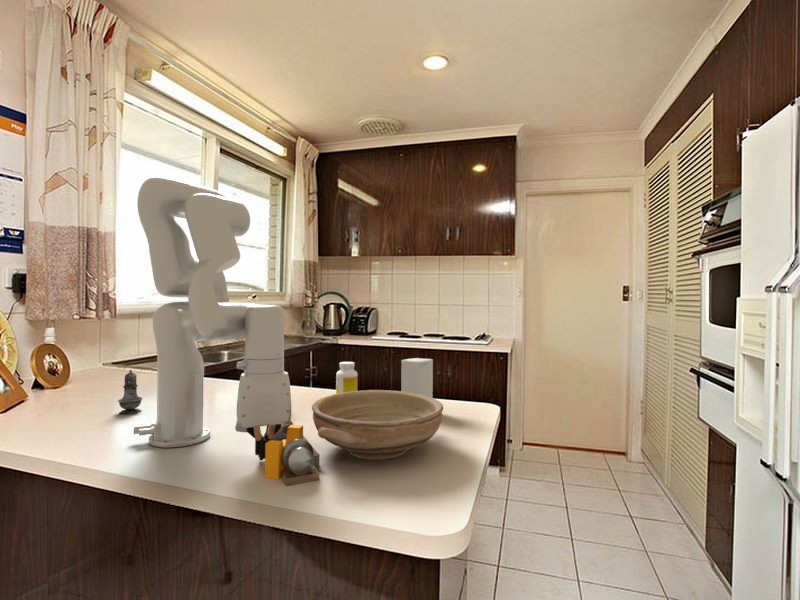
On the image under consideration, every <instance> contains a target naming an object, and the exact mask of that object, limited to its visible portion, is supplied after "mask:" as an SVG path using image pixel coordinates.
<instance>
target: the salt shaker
mask: <svg viewBox="0 0 800 600" xmlns="http://www.w3.org/2000/svg"><path fill="white" fill-rule="evenodd" d="M138 386H139V385H138V384H137V374H136V373H135V372H133V370H132V369H130V370H129V372H128V373H126V374H125V375H124V385H123V386H122V388H123V396H122V398H120V399H118V400H117V402H118V405H119V407H120V408H121V409H122V410H121V411H119V414H118V415H122V416H125V415H135V414H138V413H141V412H142V410H141V409H140V408H138V407H139V406H140V405H141V403H142V400H143V397H142V396H138V393H137V392H138V391H137V389H138Z"/></svg>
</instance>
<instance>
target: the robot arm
mask: <svg viewBox="0 0 800 600" xmlns="http://www.w3.org/2000/svg"><path fill="white" fill-rule="evenodd" d="M136 206H137V214H138V216H139V220H140V223H141V226H142V229H143V231H144V233H145V236H146V239H147V243H148V252H149V257H150V264H151V270H152V276H153V282H154V283H153V284H154V286H155V289H156V290H157V292H158V294H160V295H161V296H164V297H169V298H187V299H188V300H187V301H173V302H168V303H165V304H163V305H160V307H158V308H157V309H156V310H155V311H154V314H153V316H152V329H153V334H154V339H155V346H156V356H157V357H156V359H157V360H156V362H157V363H156V364H157V365H156V366H157V371H156V375H157V380H156V381H157V387H156V418H155V420H154V422H150V424H137V425H135V424H134V425H133V435H138V436H145V435H146V436H147V435H150V436H149V437H148V444H149V445H151V446H153V447H156V448H180V447H181V448H182V447H187V446H191V445H196V444H199V443H201V442H204V441H205V440H207V439H208V438H209V437H211V430H210V429H209V428H208V427H205V426H204V383H205V382H204V378H205V377H204V376H205V375H204V373H205V371H204V370H205V366H204V359H203V355H202V354H201V352H200V350H199V349H198V347H197V345H196V344H195V343H200V342H208V341H209V342H210V341H211V342H218V341H219V342H221V341H231V340H242V339H244V357H243V359H242V360H240V361H237V362H236V369H237V370H243V371H244V372H242V373H241V374H240V377H239V383H238V389H237V400H236V401H237V402H236V422H235V426H234V430H235V431H236V432H238V433H247V434H249V435H250V436H251V437H253V439H255V440H254V447H255V448H254V453H255V456H257V457H258V459H259V461H264V460H265V444H266V443H267V442H268V441H270V440H272V438H273V437H274V435H275V434H276V433H277V432H278V431H279V430H280V429H281V428H284V427H287V426H290V425H291V421H292V420H291V419H292V397H291V396H292V395H291V383H290V376H289V372H288V371H285V318H286V317H285V313H286V312H285V309H284V308H283V307H282V306H281V305H278V304H277V305H276V304H256V303H251V302H243V303H242V302H230V298H229V292H228V287H227V280H226V277H225V274H224V271H226V270H228V269H230V268H232V267H234V266H235V265H236V264H237V263H239V261H240V259H241V251H240V249H239V247H238V243H237V239H236V238H237V237H242V236H244V235H245V234H246V233H247V232H248V231H249V229H250V226H251V216H250V212H249V210H248V209H247V207H246V206H245V205H244V204H243V203H242V202H241V201H239V200H237V199H234V198H232V197H230V196H228V195H227V194H224V193H222V192H220V191H218V190H216V189H213V188H209V187H206V186H202V185H199V184H195V183H190V182H189V181H184V180H181V179H177V178H172V177H168V176H167V177H166V176H153V177H150V178H147V179H146V180H145V181H144V182H143V183H142V184H141V186H140V188H139V191H138V195H137V202H136ZM175 217H176V218H181V219H185V220H186V223H187V227H188V230H189V233H190V237H191V239H192V243H193V247H194V250H195V254H196V257H197V258H194V257H193V255H192V251H191V248H190V242H189V239H188V236H187V234H186V233H185V231H184V229H183V228H182V226H181V225H180V224H179V223H178V222H177V221H176V220H175ZM261 427H265V432H264V434H262V431H261V430H262V429H261ZM263 436H264V437H263Z"/></svg>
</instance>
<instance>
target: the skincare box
mask: <svg viewBox="0 0 800 600" xmlns="http://www.w3.org/2000/svg"><path fill="white" fill-rule="evenodd" d="M400 363H401V367H400V368H401V369H400V370H401V376H400V377H401V378H400V379H401V380H400V381H401V385H400V387H401V390H400V391H403V392H417V393H419V394H421V395H425V396H428V397H431V398H433V392H434V389H433V387H434V385H433V384H434V383H433V382H434V381H433V378H434V376H433V375H434V372H433V371H434V370H433V369H434V368H433V367H434V359H432V358H421V357H419V358H418V357H415V358H414V357H413V358H407V359H406V358H405V359H401V362H400Z"/></svg>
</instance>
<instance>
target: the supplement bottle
mask: <svg viewBox="0 0 800 600" xmlns="http://www.w3.org/2000/svg"><path fill="white" fill-rule="evenodd" d="M355 363H356V362H355V361H354V362H353V361H341V362H339V363H338V364H339V370H338V371H337V372H336V376H335V379H336V380H335V383H336V384H335V394H338V393H344V392H351V391H358V378H359V377H358V372H357V370H355Z"/></svg>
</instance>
